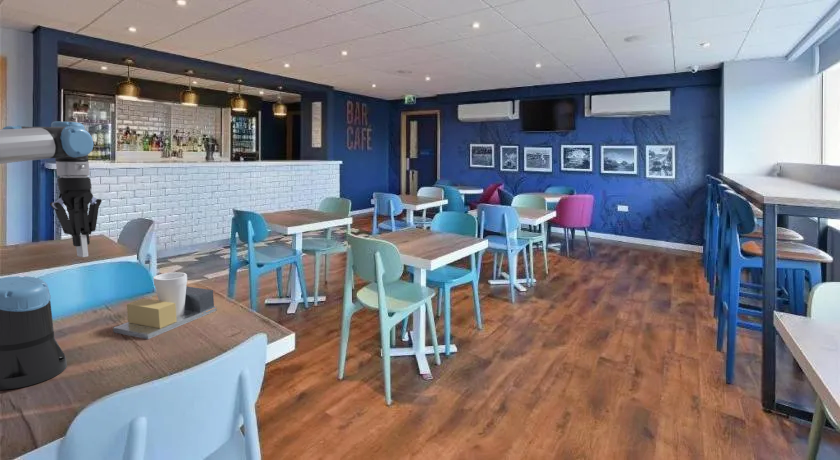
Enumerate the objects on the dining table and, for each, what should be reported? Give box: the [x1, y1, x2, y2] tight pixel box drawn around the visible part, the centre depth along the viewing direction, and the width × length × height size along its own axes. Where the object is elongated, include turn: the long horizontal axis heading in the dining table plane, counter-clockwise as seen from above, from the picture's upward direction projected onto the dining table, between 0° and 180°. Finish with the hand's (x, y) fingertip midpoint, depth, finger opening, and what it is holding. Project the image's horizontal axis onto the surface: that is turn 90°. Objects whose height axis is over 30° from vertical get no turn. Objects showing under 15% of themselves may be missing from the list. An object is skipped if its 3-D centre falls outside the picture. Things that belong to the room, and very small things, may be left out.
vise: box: [112, 285, 217, 340], centre depth 143 cm, size 26×14×8 cm, turn 161°
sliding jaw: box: [126, 297, 177, 328], centre depth 138 cm, size 6×13×6 cm, turn 71°
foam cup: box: [153, 271, 188, 317], centre depth 145 cm, size 10×9×13 cm
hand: (82, 256), depth 132 cm, fingers closed
